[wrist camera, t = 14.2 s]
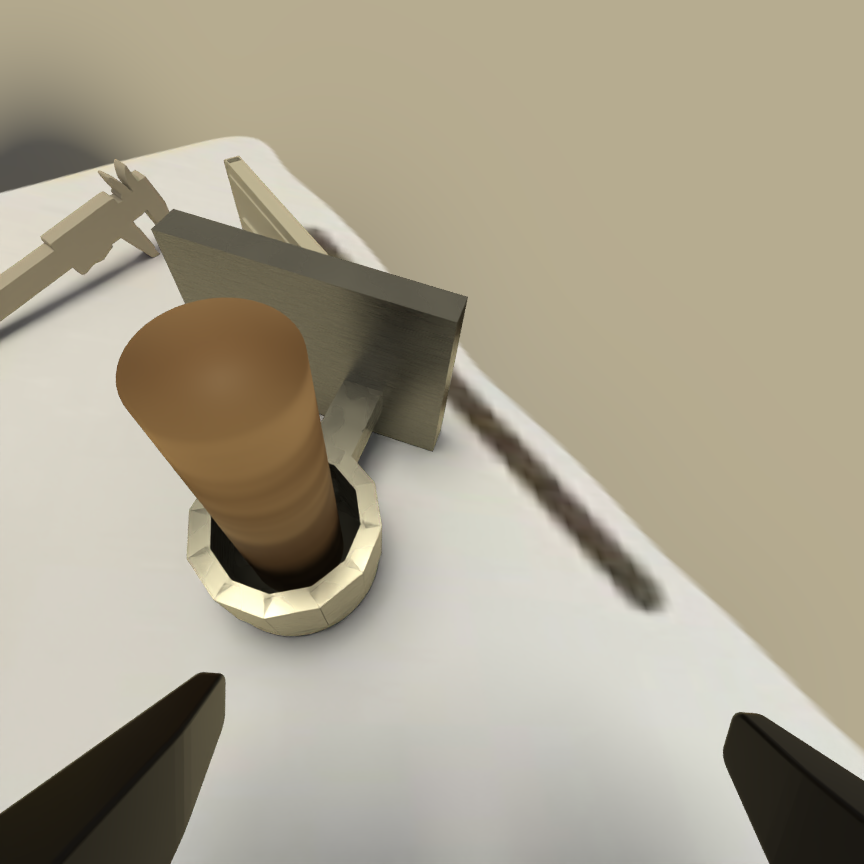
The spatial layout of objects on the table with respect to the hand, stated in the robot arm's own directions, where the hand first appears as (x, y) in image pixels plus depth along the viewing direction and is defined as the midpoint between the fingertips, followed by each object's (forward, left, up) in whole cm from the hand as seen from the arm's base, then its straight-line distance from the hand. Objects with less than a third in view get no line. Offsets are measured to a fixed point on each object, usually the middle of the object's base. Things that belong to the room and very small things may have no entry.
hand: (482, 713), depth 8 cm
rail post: (+5, +8, -12) cm, 15 cm away
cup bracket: (+7, +10, -14) cm, 18 cm away
